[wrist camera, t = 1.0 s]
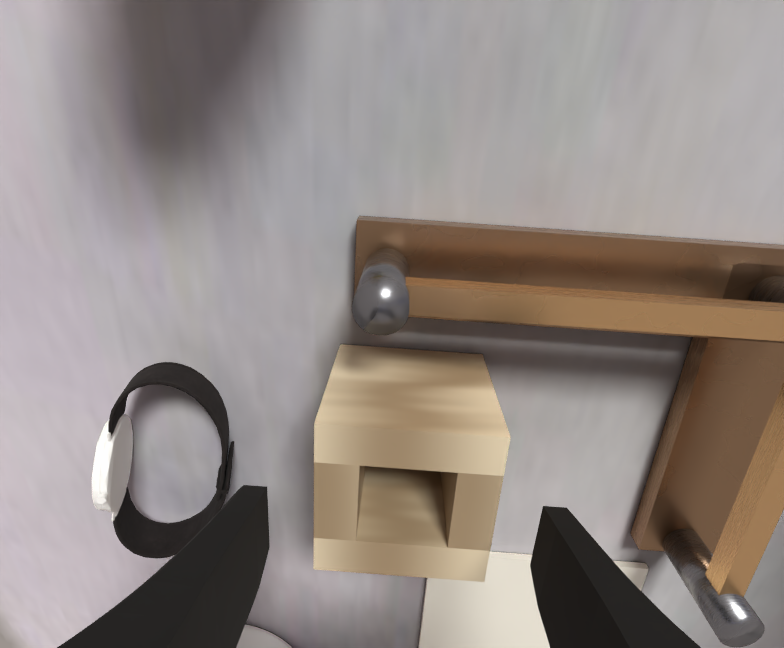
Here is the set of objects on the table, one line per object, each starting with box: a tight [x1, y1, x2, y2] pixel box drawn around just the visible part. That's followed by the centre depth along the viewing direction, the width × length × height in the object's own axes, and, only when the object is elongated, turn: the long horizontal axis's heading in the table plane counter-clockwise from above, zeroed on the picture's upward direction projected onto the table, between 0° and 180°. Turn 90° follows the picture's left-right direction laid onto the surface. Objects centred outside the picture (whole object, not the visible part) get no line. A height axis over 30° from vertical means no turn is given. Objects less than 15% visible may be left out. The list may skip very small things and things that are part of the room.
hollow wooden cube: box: [314, 344, 511, 582], centre depth 15 cm, size 5×5×5 cm
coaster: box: [418, 552, 649, 648], centre depth 22 cm, size 9×9×1 cm
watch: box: [92, 362, 234, 558], centre depth 17 cm, size 8×5×4 cm, turn 170°
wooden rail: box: [352, 216, 784, 647], centre depth 15 cm, size 14×12×4 cm
